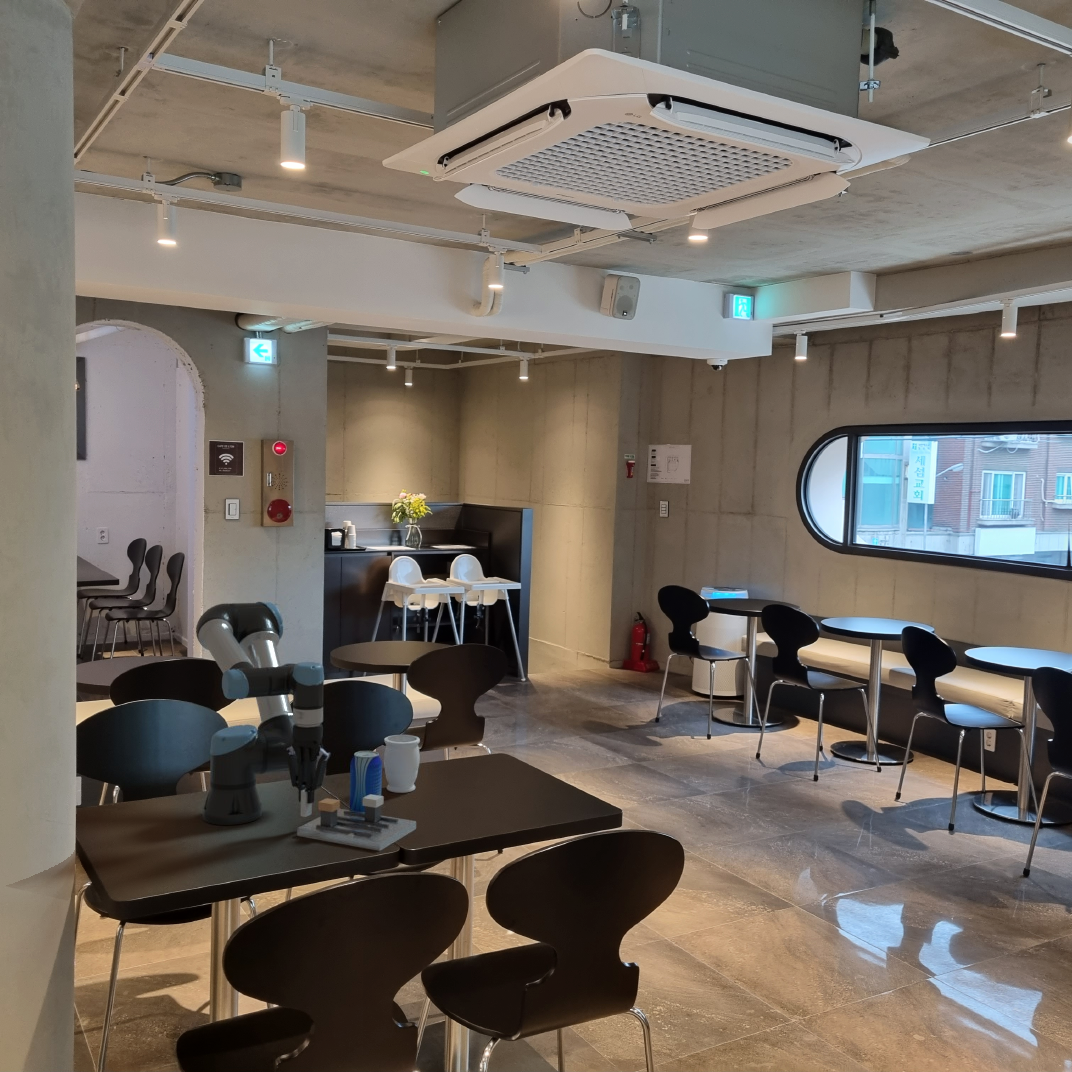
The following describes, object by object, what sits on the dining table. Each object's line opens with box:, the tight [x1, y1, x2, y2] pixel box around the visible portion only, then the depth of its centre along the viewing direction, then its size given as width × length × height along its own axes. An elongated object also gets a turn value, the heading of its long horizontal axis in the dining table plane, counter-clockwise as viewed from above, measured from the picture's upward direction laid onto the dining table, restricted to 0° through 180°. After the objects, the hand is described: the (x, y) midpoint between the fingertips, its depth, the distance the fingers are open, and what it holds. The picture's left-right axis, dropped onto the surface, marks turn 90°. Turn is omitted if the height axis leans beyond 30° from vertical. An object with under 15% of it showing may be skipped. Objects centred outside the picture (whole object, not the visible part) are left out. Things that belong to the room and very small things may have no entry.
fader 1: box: [318, 797, 341, 827], centre depth 255 cm, size 4×4×6 cm
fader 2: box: [363, 794, 385, 822], centre depth 259 cm, size 4×4×6 cm
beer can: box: [349, 750, 383, 813], centre depth 273 cm, size 8×8×16 cm
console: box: [296, 808, 417, 852], centre depth 257 cm, size 24×18×3 cm
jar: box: [383, 734, 421, 794], centre depth 295 cm, size 11×10×15 cm
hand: (306, 815), depth 258 cm, fingers closed
